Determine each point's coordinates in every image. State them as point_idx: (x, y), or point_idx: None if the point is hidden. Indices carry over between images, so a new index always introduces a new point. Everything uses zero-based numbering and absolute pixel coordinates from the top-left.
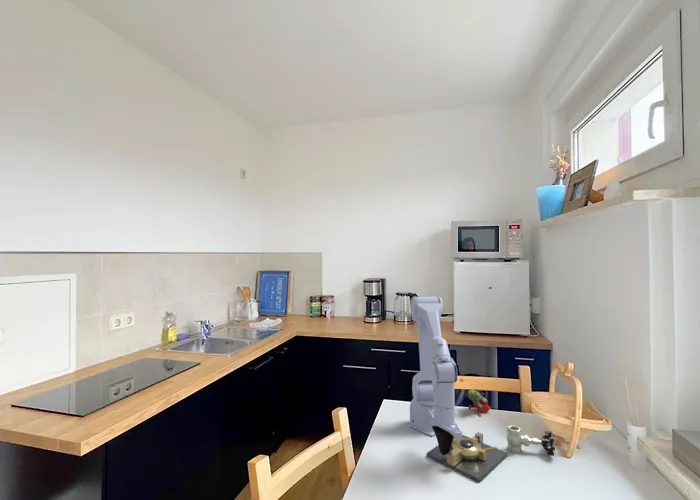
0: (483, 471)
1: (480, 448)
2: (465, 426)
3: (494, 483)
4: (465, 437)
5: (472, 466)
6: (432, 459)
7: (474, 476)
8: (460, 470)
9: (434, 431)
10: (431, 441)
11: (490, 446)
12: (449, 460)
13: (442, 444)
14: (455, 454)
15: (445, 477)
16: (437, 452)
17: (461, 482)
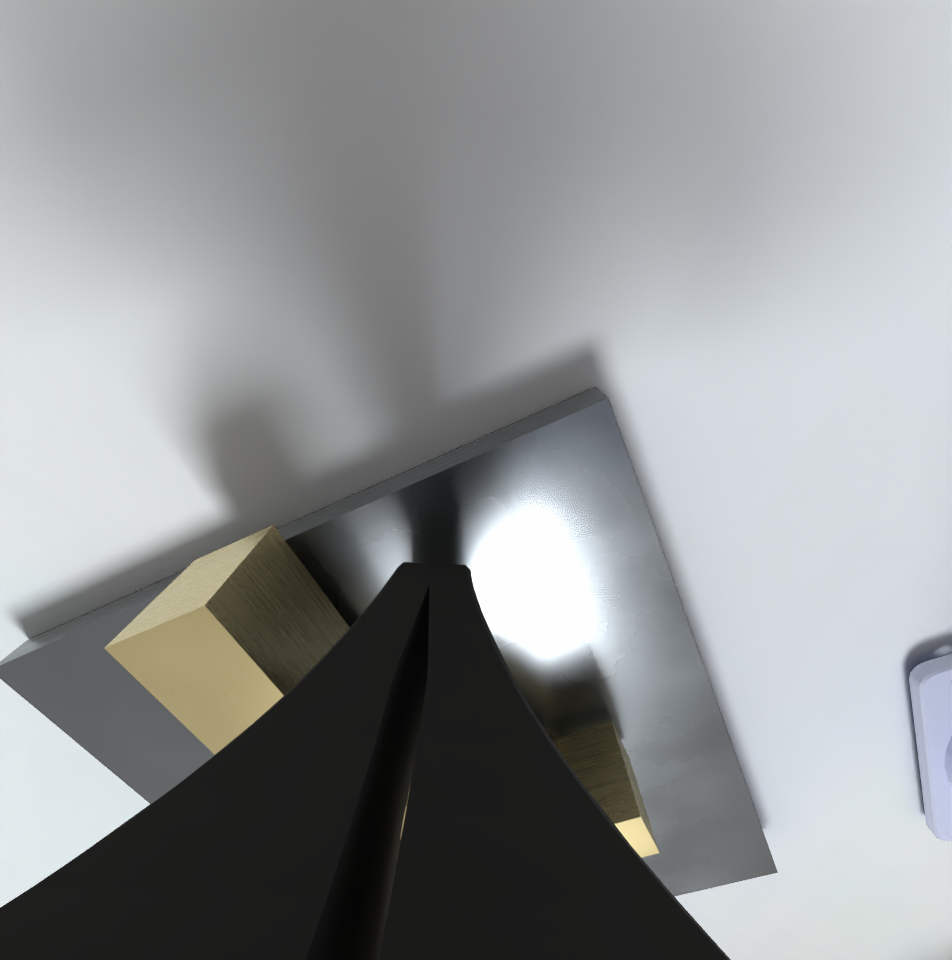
0: (113, 751)
1: None
2: (825, 934)
3: (28, 727)
4: (665, 884)
5: None
6: (506, 429)
7: (29, 650)
8: (164, 589)
9: (596, 904)
10: (836, 614)
11: None
12: (214, 567)
13: (296, 687)
14: (174, 702)
15: (120, 378)
16: (557, 547)
17: (26, 496)
